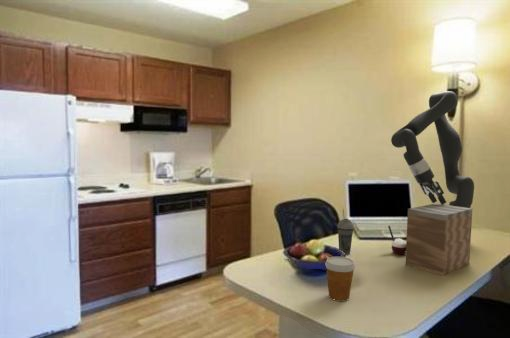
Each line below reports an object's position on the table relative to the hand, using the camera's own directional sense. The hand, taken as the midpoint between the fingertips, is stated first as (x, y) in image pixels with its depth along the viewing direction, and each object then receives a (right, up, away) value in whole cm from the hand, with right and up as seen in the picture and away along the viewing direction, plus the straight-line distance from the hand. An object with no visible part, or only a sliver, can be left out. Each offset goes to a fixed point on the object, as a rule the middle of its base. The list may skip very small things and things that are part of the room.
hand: (439, 202), depth 164 cm
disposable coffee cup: (-55, -27, -45) cm, 75 cm away
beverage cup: (-42, -23, +1) cm, 48 cm away
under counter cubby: (-7, -24, -12) cm, 28 cm away
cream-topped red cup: (-17, -23, +2) cm, 29 cm away
